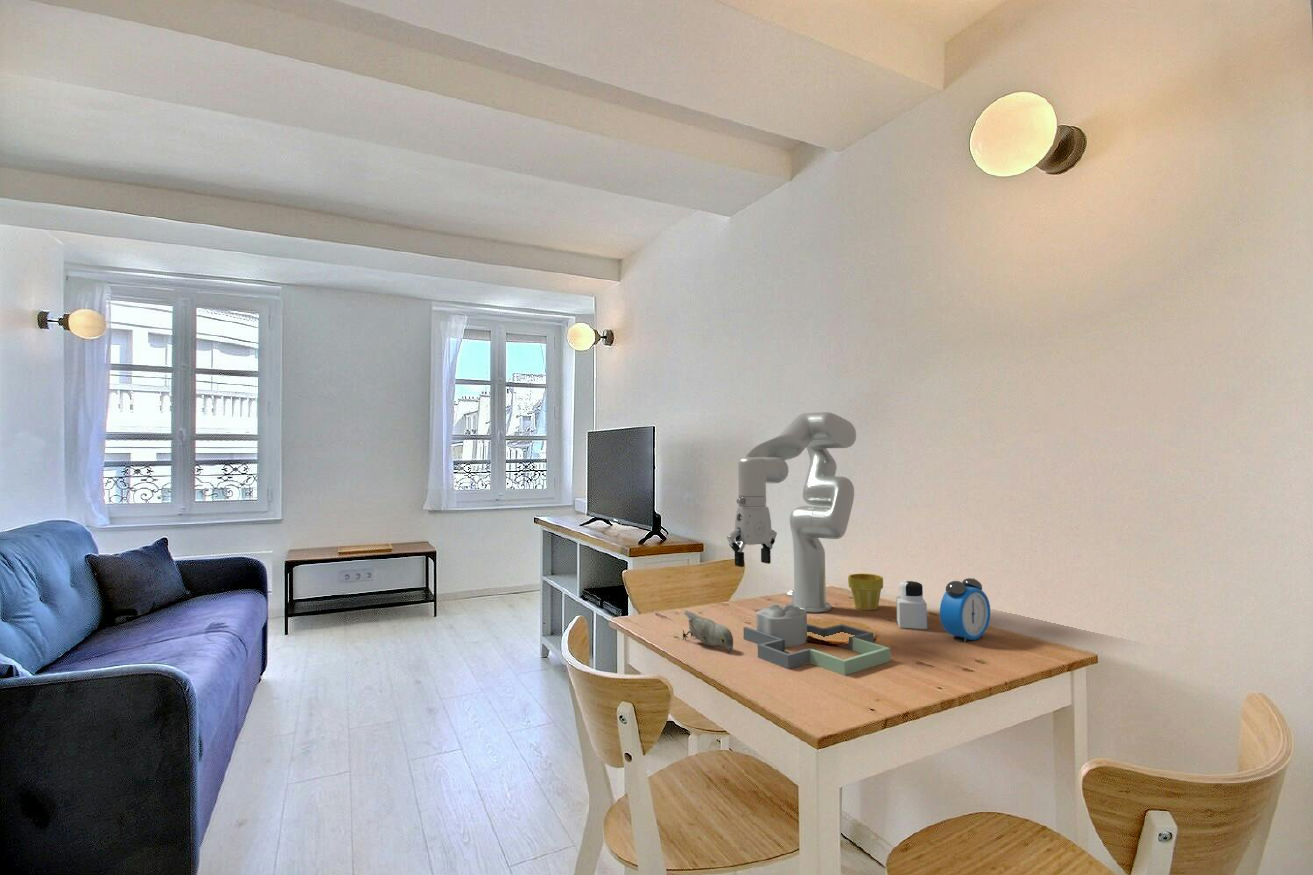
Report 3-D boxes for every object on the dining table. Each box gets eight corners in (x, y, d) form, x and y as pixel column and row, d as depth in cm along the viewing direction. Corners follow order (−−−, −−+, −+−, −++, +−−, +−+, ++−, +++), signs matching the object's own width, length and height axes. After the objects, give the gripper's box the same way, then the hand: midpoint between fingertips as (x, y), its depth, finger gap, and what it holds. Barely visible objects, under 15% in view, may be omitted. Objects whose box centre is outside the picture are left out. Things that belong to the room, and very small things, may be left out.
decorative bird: (723, 655, 151) (723, 624, 151) (678, 641, 163) (678, 612, 163) (739, 650, 154) (738, 620, 154) (693, 637, 166) (693, 609, 167)
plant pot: (842, 608, 194) (841, 576, 194) (858, 602, 201) (857, 571, 201) (874, 613, 186) (873, 581, 187) (889, 607, 194) (889, 575, 194)
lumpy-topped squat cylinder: (751, 638, 164) (751, 605, 164) (792, 631, 170) (791, 599, 170) (775, 649, 155) (775, 614, 155) (817, 642, 160) (816, 608, 160)
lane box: (723, 643, 160) (722, 631, 160) (805, 624, 176) (805, 613, 176) (822, 682, 132) (822, 668, 132) (909, 655, 149) (908, 642, 149)
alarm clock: (960, 644, 156) (959, 584, 156) (938, 638, 161) (937, 580, 162) (992, 636, 162) (990, 578, 163) (969, 630, 168) (968, 574, 168)
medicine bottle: (923, 622, 176) (922, 580, 176) (927, 629, 169) (926, 585, 170) (896, 621, 178) (895, 579, 178) (899, 628, 171) (898, 584, 172)
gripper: (737, 504, 164) (737, 569, 164) (784, 501, 174) (785, 563, 173) (719, 502, 171) (719, 565, 170) (765, 500, 180) (766, 560, 180)
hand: (752, 564), depth 172 cm, fingers open, 9 cm apart
